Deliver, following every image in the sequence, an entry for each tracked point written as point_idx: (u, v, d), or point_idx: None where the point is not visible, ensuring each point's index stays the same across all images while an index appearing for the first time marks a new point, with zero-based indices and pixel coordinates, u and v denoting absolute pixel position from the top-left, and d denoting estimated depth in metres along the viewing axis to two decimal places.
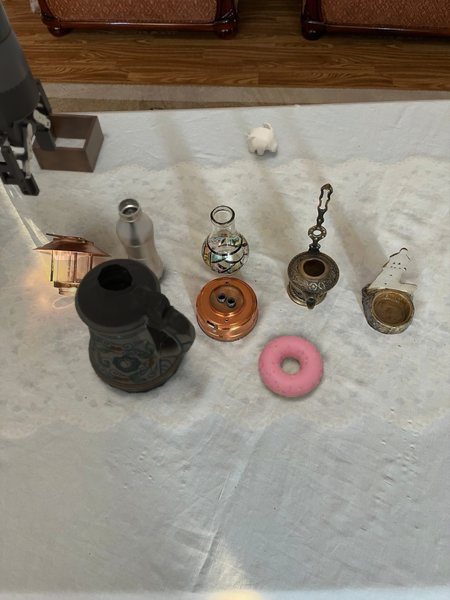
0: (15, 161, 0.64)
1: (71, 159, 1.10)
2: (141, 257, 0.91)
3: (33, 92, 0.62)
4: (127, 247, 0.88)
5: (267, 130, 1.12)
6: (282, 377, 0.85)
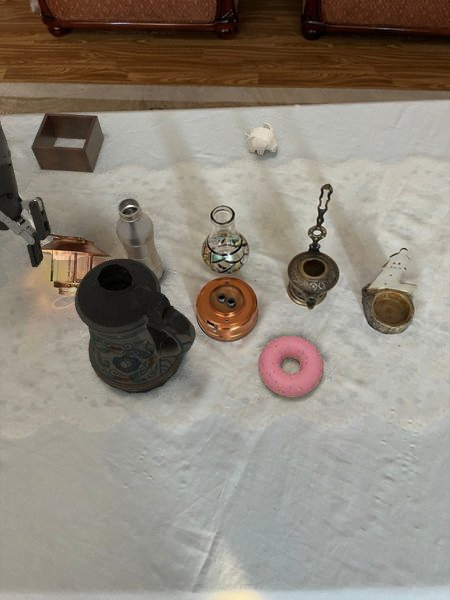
0: None
1: (71, 159, 1.10)
2: (141, 257, 0.91)
3: None
4: (127, 247, 0.88)
5: (267, 130, 1.12)
6: (282, 377, 0.85)
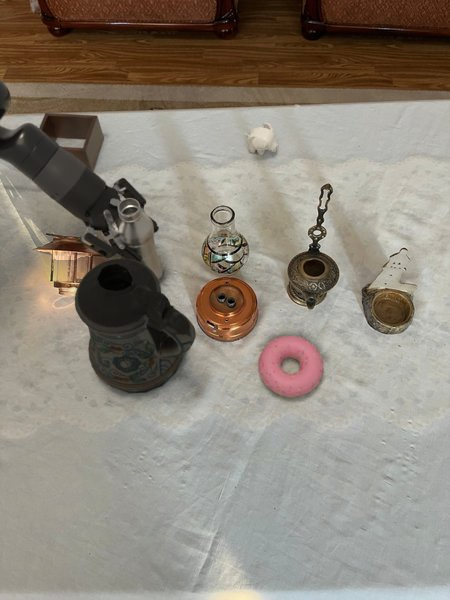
0: (123, 194, 0.91)
1: None
2: None
3: None
4: None
5: (267, 130, 1.12)
6: (282, 377, 0.85)
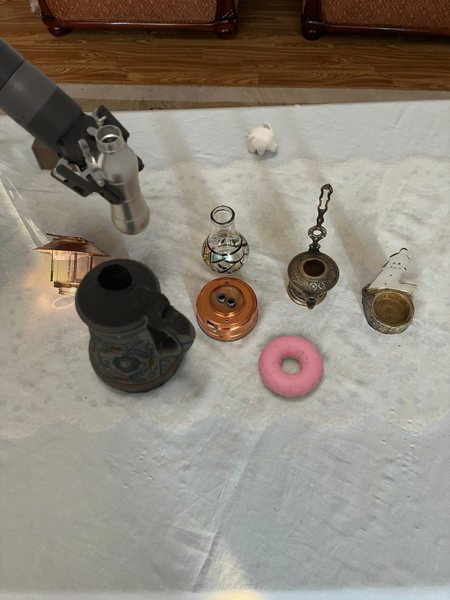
0: None
1: None
2: None
3: None
4: None
5: (267, 130, 1.12)
6: (282, 377, 0.85)
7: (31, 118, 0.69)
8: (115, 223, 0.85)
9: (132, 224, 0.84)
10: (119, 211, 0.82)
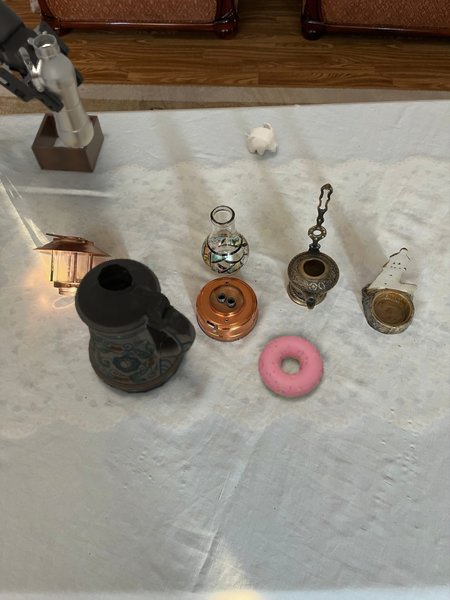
0: None
1: (71, 159, 1.10)
2: (64, 107, 0.88)
3: None
4: None
5: (267, 130, 1.12)
6: (282, 377, 0.85)
7: None
8: (60, 135, 0.94)
9: (75, 135, 0.93)
10: (61, 121, 0.90)
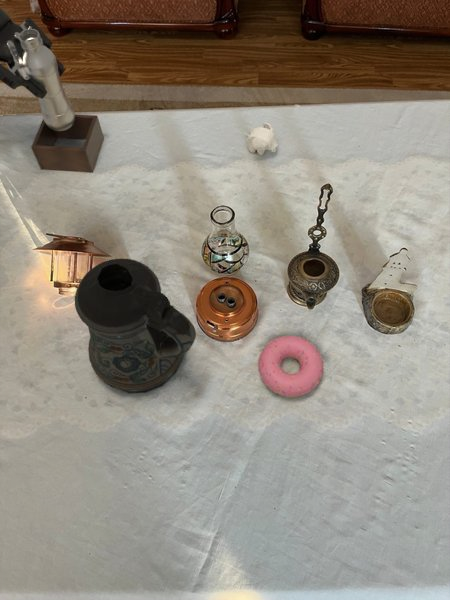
0: None
1: (71, 159, 1.10)
2: (48, 94, 0.99)
3: None
4: None
5: (267, 130, 1.12)
6: (282, 377, 0.85)
7: None
8: (45, 119, 1.05)
9: (58, 119, 1.04)
10: (46, 106, 1.02)
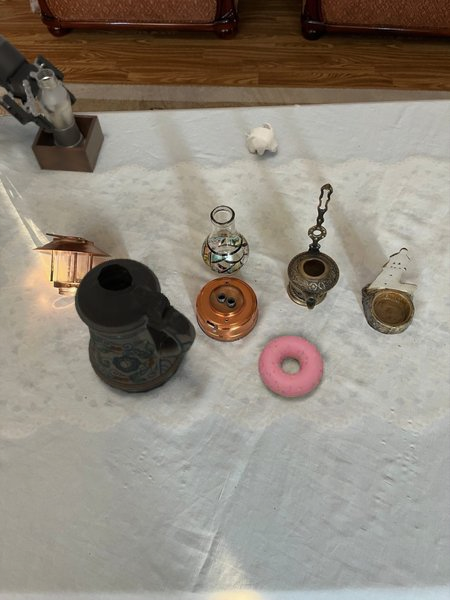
0: None
1: (71, 159, 1.10)
2: (61, 127, 1.07)
3: None
4: (48, 115, 1.04)
5: (267, 130, 1.12)
6: (282, 377, 0.85)
7: None
8: None
9: None
10: (59, 138, 1.09)
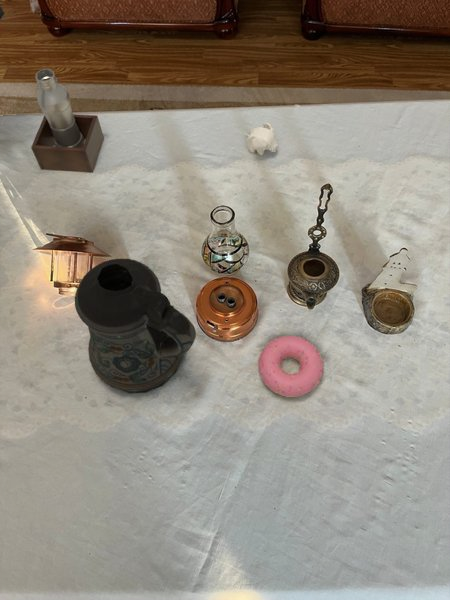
0: None
1: (71, 159, 1.10)
2: (61, 127, 1.07)
3: None
4: (48, 115, 1.04)
5: (267, 130, 1.12)
6: (282, 377, 0.85)
7: None
8: None
9: None
10: (59, 138, 1.09)
